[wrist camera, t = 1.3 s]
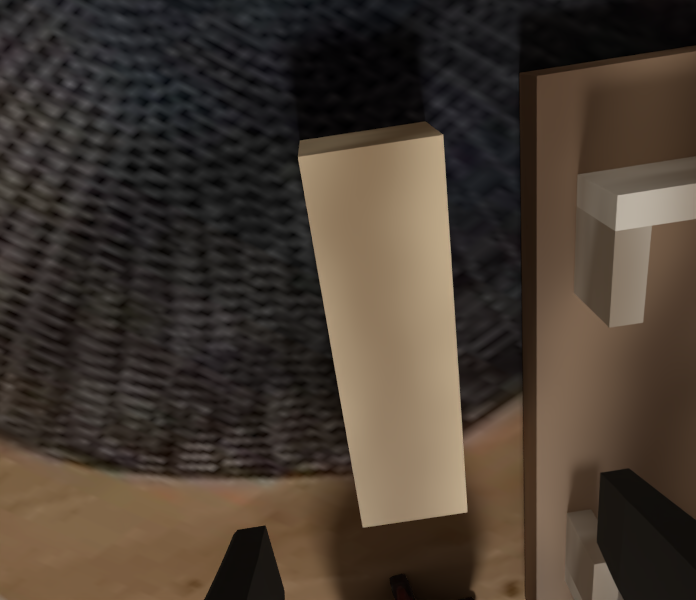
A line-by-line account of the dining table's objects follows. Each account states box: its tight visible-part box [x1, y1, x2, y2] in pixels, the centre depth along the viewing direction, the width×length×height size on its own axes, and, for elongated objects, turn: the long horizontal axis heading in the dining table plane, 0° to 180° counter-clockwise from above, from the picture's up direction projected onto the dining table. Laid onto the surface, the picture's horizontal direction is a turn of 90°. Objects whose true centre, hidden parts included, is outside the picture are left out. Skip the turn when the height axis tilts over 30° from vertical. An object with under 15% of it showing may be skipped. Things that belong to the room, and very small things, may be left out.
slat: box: [298, 121, 467, 528], centre depth 20 cm, size 4×14×3 cm, turn 8°
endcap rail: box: [519, 45, 696, 600], centre depth 21 cm, size 10×24×4 cm, turn 8°
